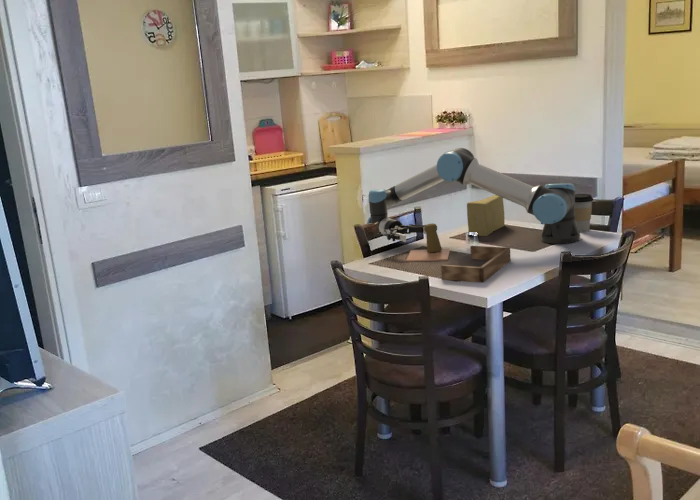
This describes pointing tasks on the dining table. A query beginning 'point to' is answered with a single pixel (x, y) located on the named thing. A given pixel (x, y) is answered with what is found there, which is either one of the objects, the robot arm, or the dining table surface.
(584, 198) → the coffee cup
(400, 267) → the dining table surface
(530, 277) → the dining table surface
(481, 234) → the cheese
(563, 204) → the robot arm
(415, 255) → the terracotta tile
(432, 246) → the olive pepper mill
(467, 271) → the walnut bay
